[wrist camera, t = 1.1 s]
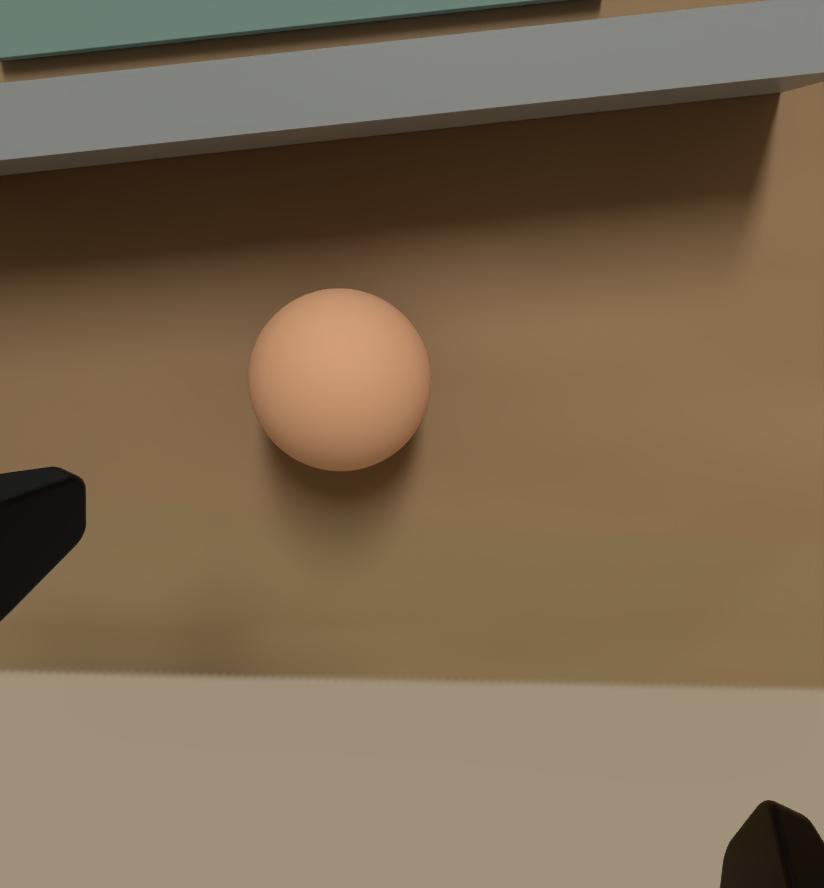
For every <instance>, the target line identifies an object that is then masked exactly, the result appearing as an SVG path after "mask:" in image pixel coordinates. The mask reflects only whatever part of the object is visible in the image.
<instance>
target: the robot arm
mask: <svg viewBox="0 0 824 888" xmlns="http://www.w3.org/2000/svg"><path fill="white" fill-rule="evenodd" d="M85 528H86V488H85V483H84V481H83V479H81V478H80V477H79V476H77V475H75V474H73V473H70V472H68V471H66V470H64V469H62V468H58V467H46V468H39V469H32V470H24V471H17V472H10V473H3V474H0V621H1V620H2V619H3V618H4V617H5V616H6V615H7V614H9V613H10V612H11V611H12V610H13V609H14V608H15V607H16V606H17V604H18V603H19V602H20V601H21V600H22V599H23V598H24V597H25V596H26V595H27V594H28V593H29V592H30V591H31V590H32V589H33V588H34V587H35V586H36V585H37V584H38V583H39V582H40V581H41V580H42V579H43V578H44V577H45V576H46V575H47V574H48V573H49V572H50V571H51V570H52V569H53V568H54V567H55V566H56V565H57V564H58V563H59V562H60V561H61V560H62V559H63V558H64V557H65V556H66V555H67V554H68V553H69V552H70V551H71V550H72V549H73V548H74V547H75V546H76V545H77V543H78V542H79V541H80V539H81V538H82V536H83V534H84V531H85ZM720 888H824V842H823V840H822V839H821V837H820V835H819V834H818V832H817V831H816V829H815V827H814V826H813V824H812V823H811V822H810V820H809V819H808V818H806V817H805V816H803V815H802V814H800V813H798V812H796V811H794V810H791V809H790V808H787V807H785V806H783V805H781V804H779V803H777V802H775V801H770V800H767V801H763V802H762V803H760V804H759V805H758V806H757V808H756V809H755V810H754V811H753V813H752V814H751V815H750V817H749V818H748V819H747V820H746V822H745V823H744V824H743V825H742V827H741V828H740V829H739V831H738V832H737V833H736V834H735V836H734V837H733V838H732V840H731V841H730V843H729V845H728V847H727V849H726V852H725V856H724V860H723V867H722V875H721V884H720Z"/></svg>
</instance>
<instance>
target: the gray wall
mask: <svg viewBox="0 0 824 888" xmlns="http://www.w3.org/2000/svg"><path fill="white" fill-rule="evenodd" d="M823 81H824V0H770V1H761V2H751V3H742V4H733V5H723V6H714V7H705V8H695V9H686V10H677V11H667V12H658V13H649V14H640V15H630V16H621V17H612V18H602V19H593V20H584V21H574V22H565V23H556V24H546V25H537V26H528V27H519V28H509V29H500V30H491V31H481V32H472V33H463V34H453V35H444V36H435V37H425V38H416V39H407V40H398V41H388V42H379V43H370V44H360V45H351V46H342V47H332V48H323V49H314V50H304V51H295V52H286V53H277V54H267V55H258V56H249V57H239V58H230V59H221V60H211V61H202V62H193V63H183V64H174V65H165V66H156V67H146V68H137V69H128V70H118V71H109V72H100V73H90V74H81V75H72V76H62V77H53V78H44V79H35V80H25V81H16V82H7V83H0V176H2V175H11V174H20V173H30V172H39V171H48V170H58V169H67V168H77V167H86V166H95V165H105V164H114V163H124V162H133V161H142V160H152V159H161V158H171V157H180V156H189V155H199V154H208V153H218V152H227V151H236V150H246V149H255V148H265V147H274V146H283V145H293V144H302V143H311V142H321V141H330V140H340V139H349V138H358V137H368V136H377V135H387V134H396V133H405V132H415V131H424V130H434V129H443V128H452V127H462V126H471V125H481V124H490V123H499V122H509V121H518V120H528V119H537V118H546V117H556V116H565V115H574V114H584V113H593V112H603V111H612V110H621V109H631V108H640V107H650V106H659V105H668V104H678V103H687V102H697V101H706V100H715V99H725V98H734V97H744V96H753V95H762V94H772V93H781V92H785V91H789V90H793V89H797V88H800V87H804V86H808V85H812V84H815V83H819V82H823Z"/></svg>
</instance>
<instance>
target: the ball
mask: <svg viewBox="0 0 824 888" xmlns="http://www.w3.org/2000/svg"><path fill="white" fill-rule="evenodd" d="M248 387H249V395H250V400H251V404H252V408H253V410H254V412H255V415H256V417H257V419H258V421H259V423H260V425H261V426H262V428H263V430H264V431H265V432H266V434H267V435H268V436H269V438H270V439H271V440H272V441H273V442H274V443H275V444H276V445H277V446H278V447H279V448H280V449H281V450H282V451H284V452H285V453H286V454H287V455H289V456H291V457H292V458H294V459H295V460H297V461H299V462H302V463H304V464H306V465H309V466H312V467H315V468H318V469H323V470H329V471H352V470H358V469H363V468H366V467H369V466H372V465H374V464H377V463H379V462H381V461H383V460H385V459H387V458H388V457H390V456H392V455H393V454H394V453H396V452H397V451H398V450H399V449H401V448H402V447H403V446H404V445H405V444H406V443H407V442H408V441H409V440H410V438H411V437H412V436H413V434H414V433H415V432H416V430H417V428H418V427H419V425H420V423H421V421H422V419H423V417H424V415H425V412H426V410H427V406H428V402H429V398H430V390H431V370H430V364H429V359H428V355H427V352H426V349H425V347H424V344H423V342H422V340H421V338H420V336H419V335H418V333H417V331H416V330H415V328H414V327H413V325H412V324H411V323H410V322H409V320H408V319H407V318H406V317H405V316H404V315H403V314H402V313H401V312H400V311H399V310H398V309H396V308H395V307H394V306H392V305H391V304H389V303H388V302H386V301H384V300H383V299H381V298H379V297H377V296H374V295H372V294H369V293H366V292H363V291H358V290H354V289H345V288H333V289H324V290H319V291H315V292H312V293H309V294H306V295H303V296H301V297H299V298H297V299H295V300H293V301H292V302H290V303H289V304H287V305H286V306H284V307H283V308H281V309H280V310H279V311H278V312H277V313H276V314H275V315H274V316H273V317H272V318H271V319H270V320H269V321H268V323H267V324H266V325H265V327H264V328H263V330H262V332H261V333H260V335H259V337H258V339H257V341H256V343H255V345H254V347H253V351H252V354H251V357H250V363H249V369H248Z"/></svg>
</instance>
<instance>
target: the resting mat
mask: <svg viewBox="0 0 824 888" xmlns="http://www.w3.org/2000/svg"><path fill="white" fill-rule="evenodd" d="M558 1H567V0H0V60H1V61H10V60H19V59H28V58H38V57H47V56H56V55H66V54H75V53H84V52H93V51H103V50H112V49H121V48H131V47H140V46H149V45H159V44H168V43H177V42H186V41H196V40H205V39H214V38H224V37H233V36H242V35H251V34H261V33H270V32H279V31H289V30H298V29H307V28H316V27H326V26H335V25H344V24H354V23H363V22H372V21H381V20H391V19H400V18H409V17H419V16H428V15H437V14H446V13H456V12H465V11H474V10H484V9H493V8H502V7H511V6H521V5H530V4H539V3H549V2H558Z"/></svg>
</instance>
